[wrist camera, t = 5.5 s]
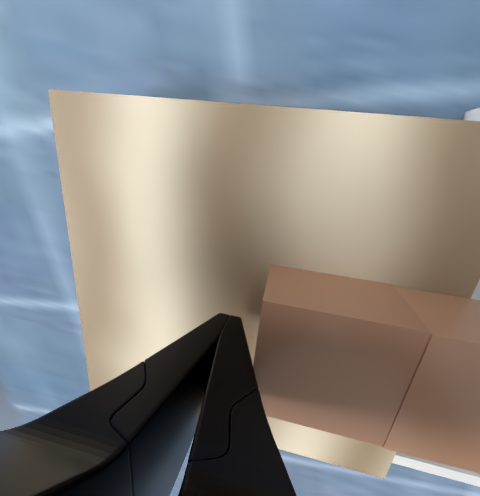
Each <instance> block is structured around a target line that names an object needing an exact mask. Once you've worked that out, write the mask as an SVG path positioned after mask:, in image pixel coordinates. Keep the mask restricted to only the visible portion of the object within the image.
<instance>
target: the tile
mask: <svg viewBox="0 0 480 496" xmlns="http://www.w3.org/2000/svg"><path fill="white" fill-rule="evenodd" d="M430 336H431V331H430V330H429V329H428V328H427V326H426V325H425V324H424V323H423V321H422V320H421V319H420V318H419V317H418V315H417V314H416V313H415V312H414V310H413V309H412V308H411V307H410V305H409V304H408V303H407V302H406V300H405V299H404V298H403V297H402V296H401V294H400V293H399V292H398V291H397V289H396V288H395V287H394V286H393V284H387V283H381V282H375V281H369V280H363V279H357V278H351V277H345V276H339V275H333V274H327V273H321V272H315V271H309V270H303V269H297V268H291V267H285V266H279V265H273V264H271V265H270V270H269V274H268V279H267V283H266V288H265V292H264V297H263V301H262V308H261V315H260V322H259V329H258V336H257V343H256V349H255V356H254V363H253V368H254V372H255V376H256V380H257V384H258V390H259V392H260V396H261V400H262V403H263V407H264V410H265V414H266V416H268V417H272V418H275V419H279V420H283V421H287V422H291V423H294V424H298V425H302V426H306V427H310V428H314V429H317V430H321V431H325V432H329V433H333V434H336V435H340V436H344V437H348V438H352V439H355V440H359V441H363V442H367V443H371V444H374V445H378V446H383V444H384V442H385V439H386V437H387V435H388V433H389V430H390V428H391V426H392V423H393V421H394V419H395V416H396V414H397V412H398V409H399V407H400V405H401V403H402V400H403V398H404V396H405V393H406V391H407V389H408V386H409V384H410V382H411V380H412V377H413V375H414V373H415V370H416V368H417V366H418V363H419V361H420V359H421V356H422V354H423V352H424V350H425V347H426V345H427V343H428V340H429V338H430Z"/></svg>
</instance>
